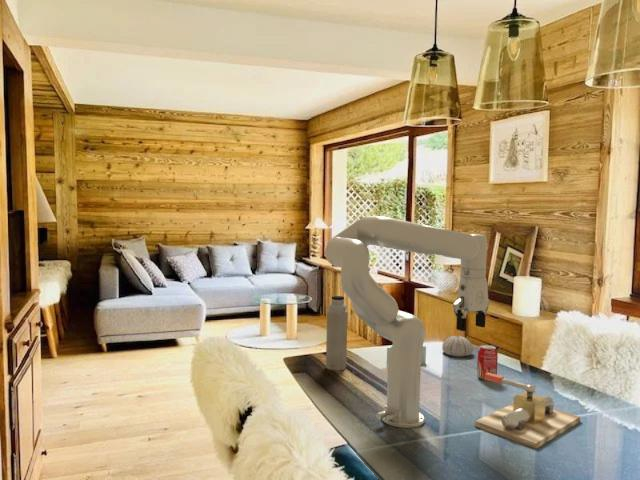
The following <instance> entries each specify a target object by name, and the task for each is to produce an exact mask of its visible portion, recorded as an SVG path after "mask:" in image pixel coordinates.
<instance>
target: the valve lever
mask: <svg viewBox="0 0 640 480" xmlns="http://www.w3.org/2000/svg"><path fill="white" fill-rule="evenodd" d="M484 381H489V382H492V383H495V384H499V385H501V384H503V385H507V386H511V387H514V388H518V389H521V390H524V392H526V393H527V392H530V393H533V394H534V393H536V385H535V384H532V383H523V382H519V381H516V380H513V379H509V378H507V377H506V378H505V376H504V375H500V374H497V375H496V374H492V373H489V372H488V373H486V374H485V380H484Z"/></svg>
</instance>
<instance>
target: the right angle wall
mask: <svg viewBox="0 0 640 480" xmlns="http://www.w3.org/2000/svg"><path fill="white" fill-rule="evenodd" d="M391 348H392V344H391V345H389V346H388V347H386V366H388V356H389V353H390V350H391ZM426 359H427V345H423V347H422V353H421V364H426V362H427V360H426Z"/></svg>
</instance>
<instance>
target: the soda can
mask: <svg viewBox="0 0 640 480" xmlns="http://www.w3.org/2000/svg"><path fill="white" fill-rule="evenodd" d="M498 354H499V353H498V350H497V347H496V346H495V345H491V344H481V345H479V348H478V351H477V362H476V365H477V366H476V373H477V374H476V375H477V377H479V378H480V379H481V380H483V381H486V380H485V374H486V373H488V372H489V373H492V374H496V375H498V374H497V373H498V358H499V356H498Z"/></svg>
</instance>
